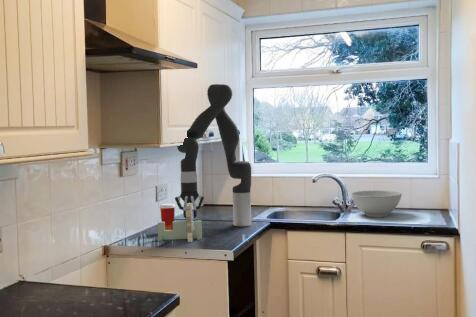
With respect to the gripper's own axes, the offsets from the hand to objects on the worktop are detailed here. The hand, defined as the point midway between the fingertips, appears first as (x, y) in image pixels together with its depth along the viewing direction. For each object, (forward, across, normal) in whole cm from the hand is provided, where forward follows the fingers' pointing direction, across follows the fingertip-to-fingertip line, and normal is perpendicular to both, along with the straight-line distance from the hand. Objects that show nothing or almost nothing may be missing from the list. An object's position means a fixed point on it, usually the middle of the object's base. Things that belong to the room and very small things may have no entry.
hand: (190, 218), depth 239 cm
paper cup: (+10, +12, -15) cm, 22 cm away
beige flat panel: (+9, 0, 0) cm, 9 cm away
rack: (+9, +5, 0) cm, 11 cm away
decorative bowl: (+10, -100, -44) cm, 110 cm away
